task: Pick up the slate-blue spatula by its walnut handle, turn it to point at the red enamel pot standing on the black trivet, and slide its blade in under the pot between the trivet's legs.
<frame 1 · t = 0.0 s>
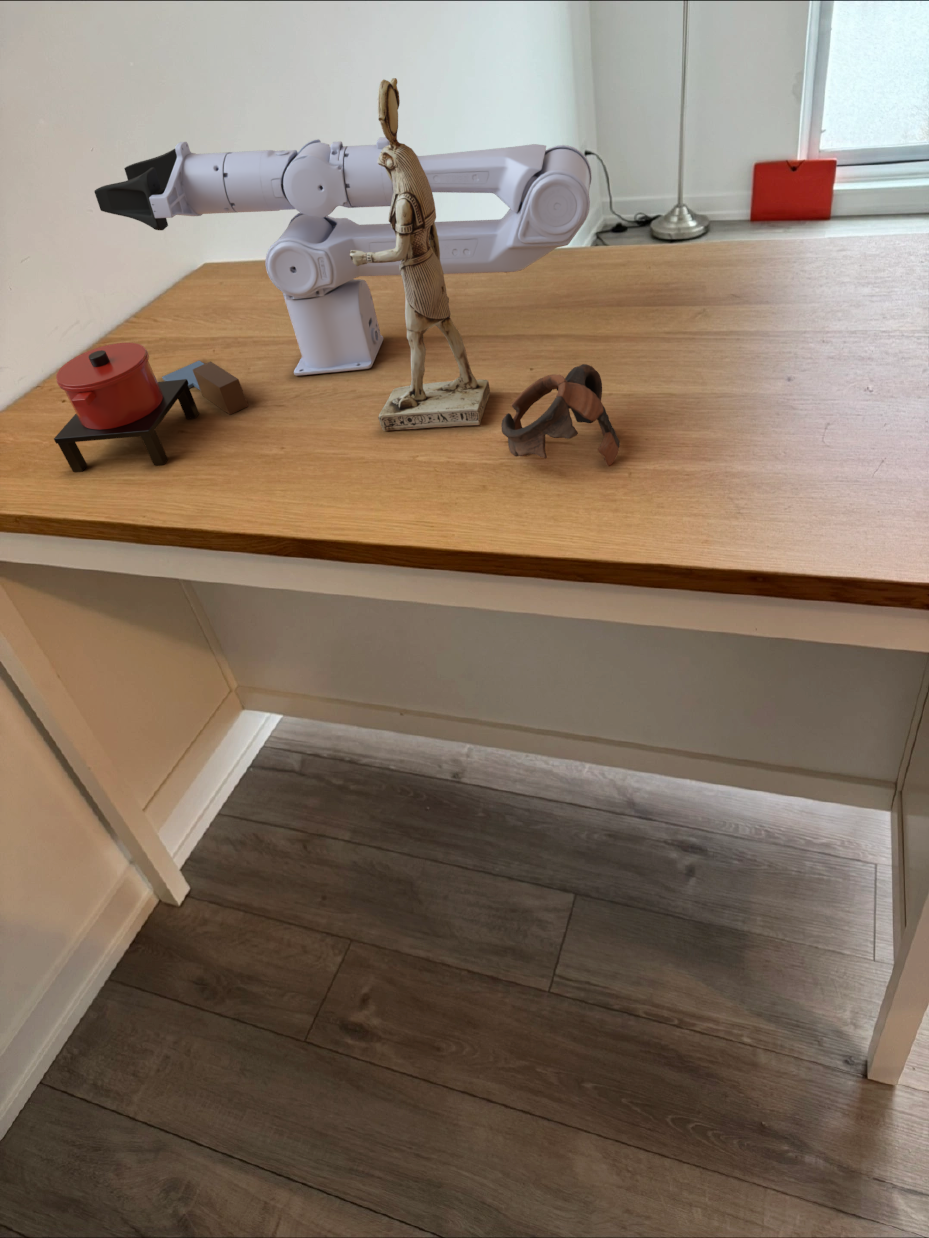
hand: (114, 188, 94), 22 cm above the table, tool horizontal, fingers open, 7 cm apart
statue: (438, 413, 91), on the table
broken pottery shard: (569, 449, 82), on the table
pot: (138, 441, 97), on the table
spatula: (190, 377, 107), on the table
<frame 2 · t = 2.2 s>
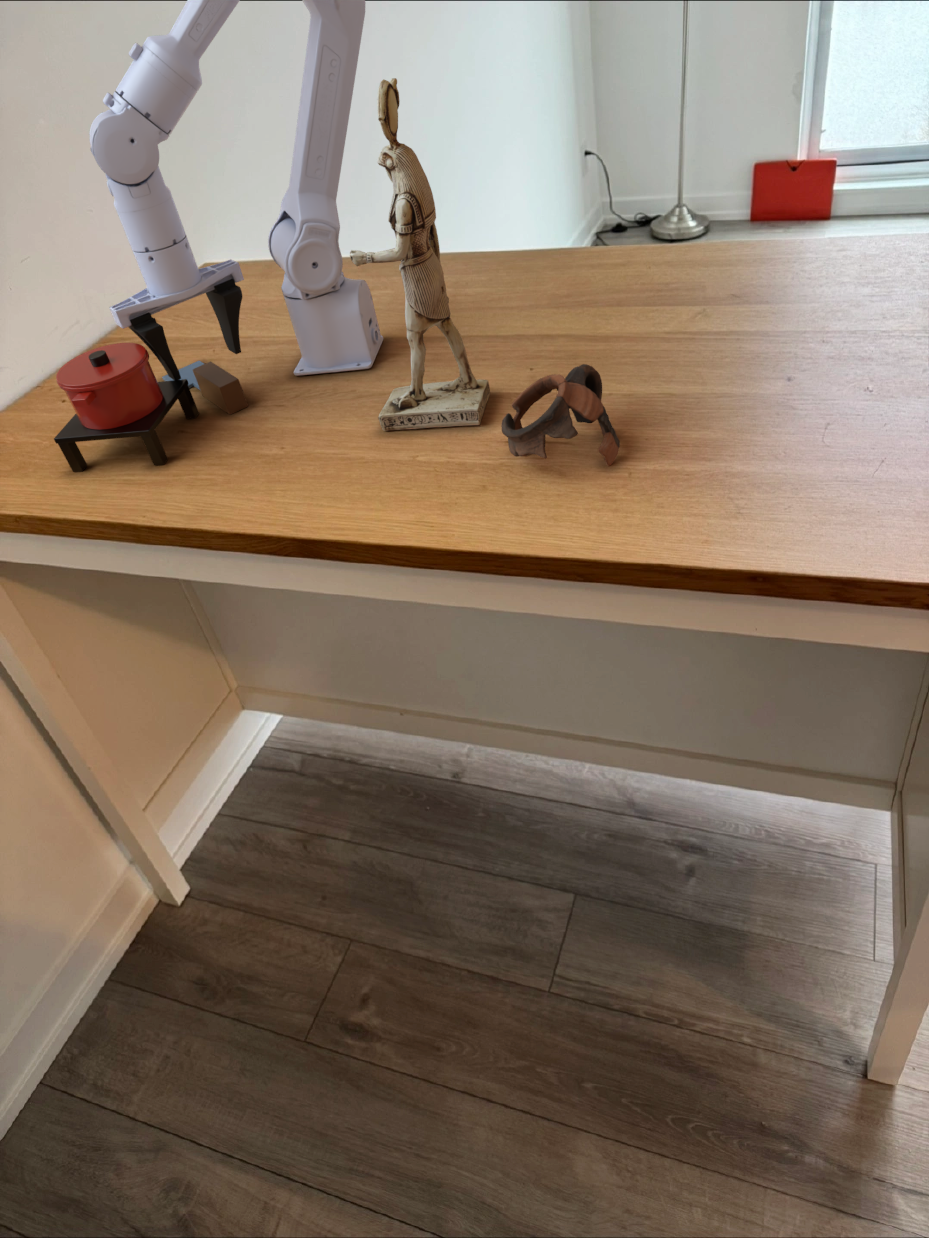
hand: (205, 364, 99), 4 cm above the table, tool pointing down, fingers open, 7 cm apart
nothing on the table moved.
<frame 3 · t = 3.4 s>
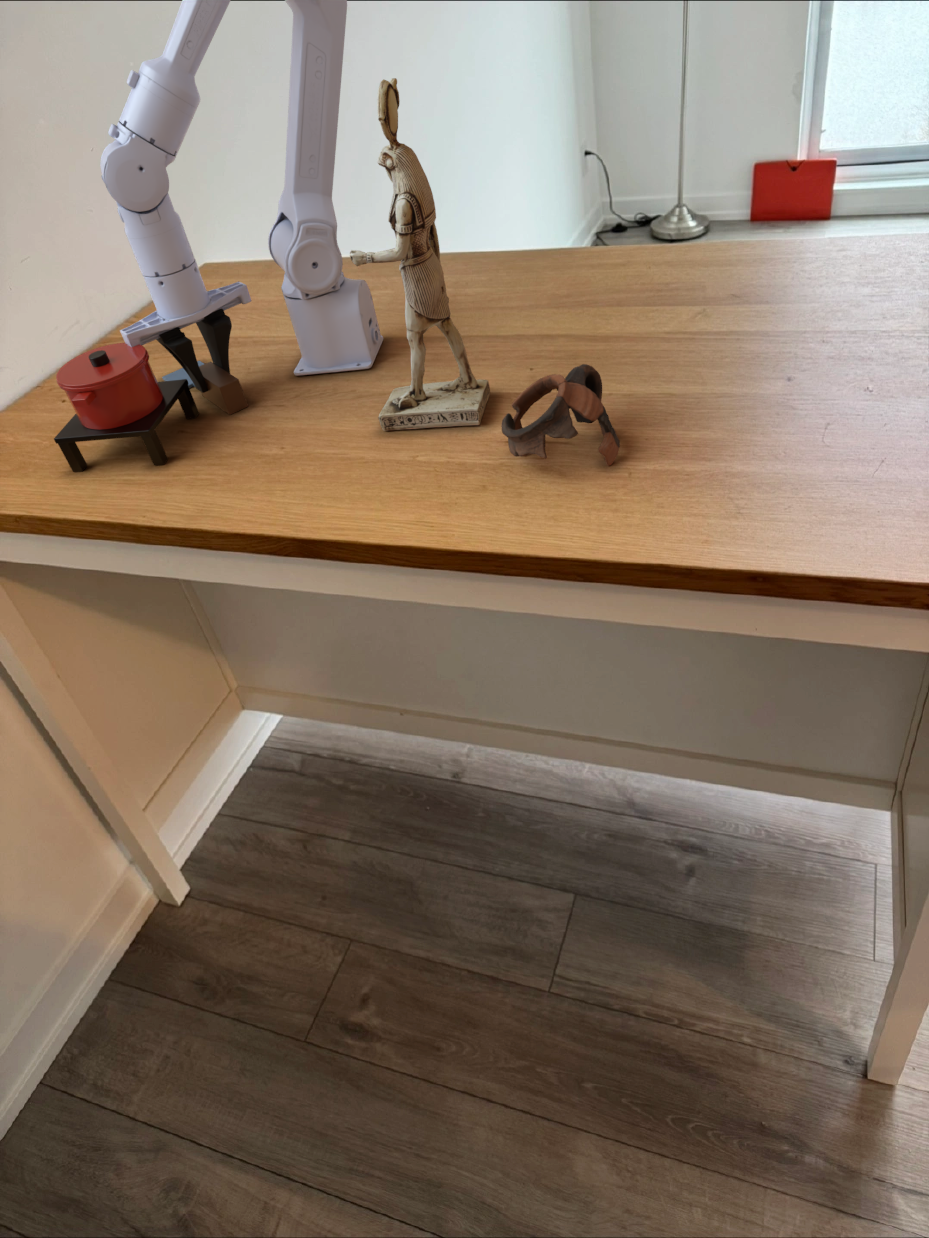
hand: (214, 384, 101), 2 cm above the table, tool pointing down, fingers closed on spatula, 2 cm apart
spatula: (190, 377, 107), on the table, touching gripper
everything else where it was.
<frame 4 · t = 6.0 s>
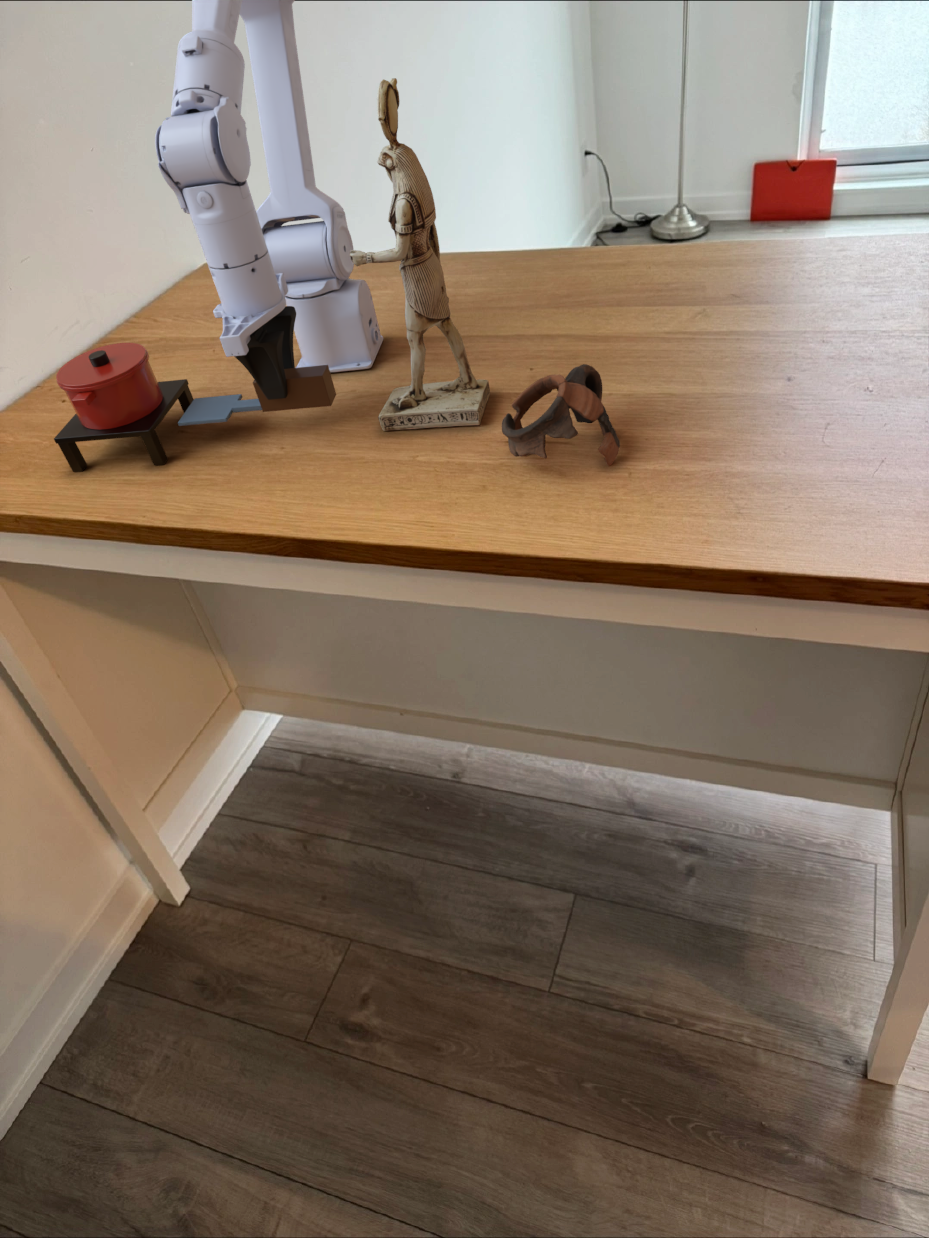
hand: (281, 390, 90), 5 cm above the table, tool pointing down, fingers closed on spatula, 2 cm apart
spatula: (211, 411, 93), point 3 cm above the table, touching gripper
everything else where it was.
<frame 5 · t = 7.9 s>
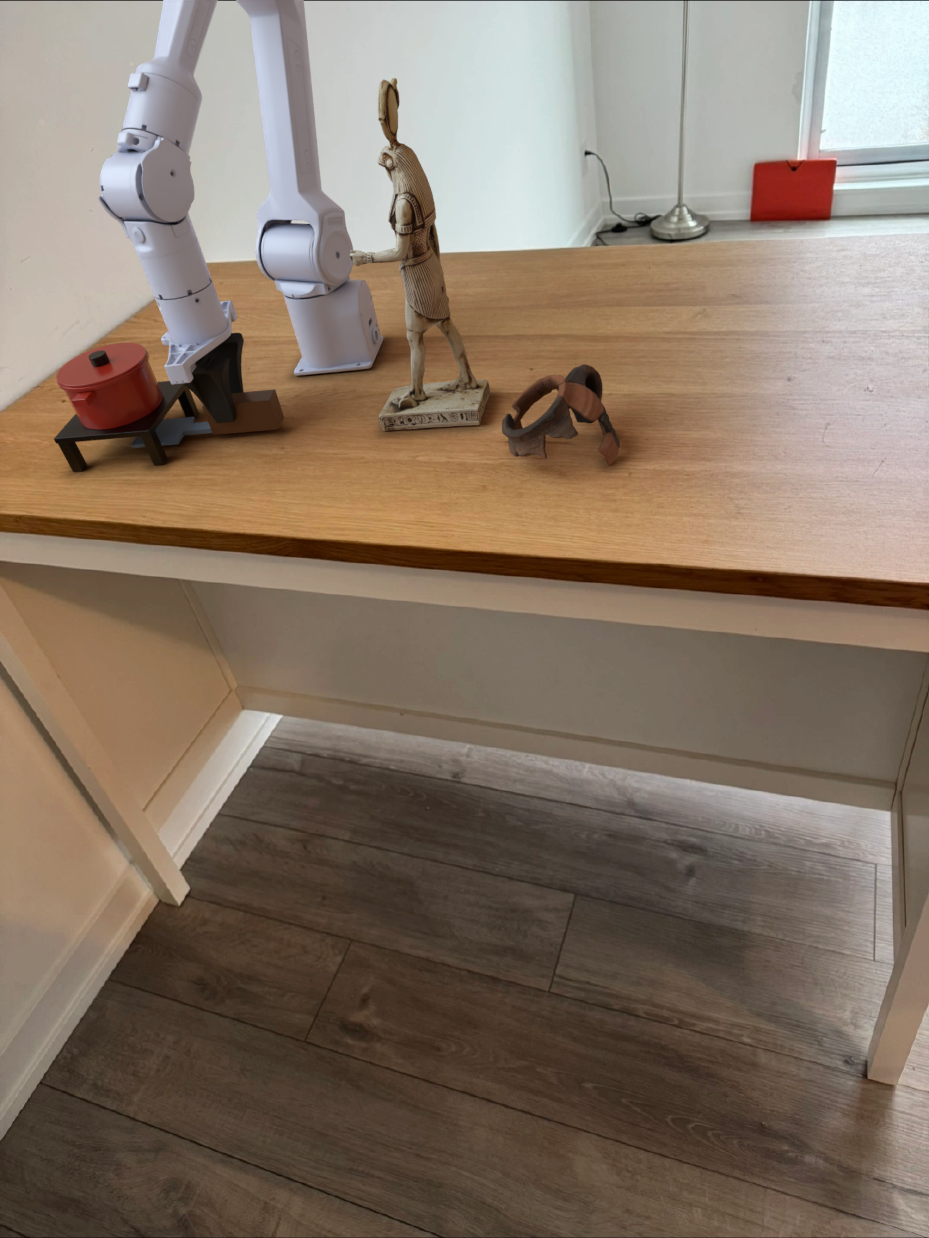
hand: (231, 413, 93), 2 cm above the table, tool pointing down, fingers closed on spatula, 2 cm apart
spatula: (163, 433, 96), point 1 cm above the table, touching gripper
everything else where it was.
when the fingers open (2 cm above the table, at t = 8.8 s): spatula stays where it is, on the table.
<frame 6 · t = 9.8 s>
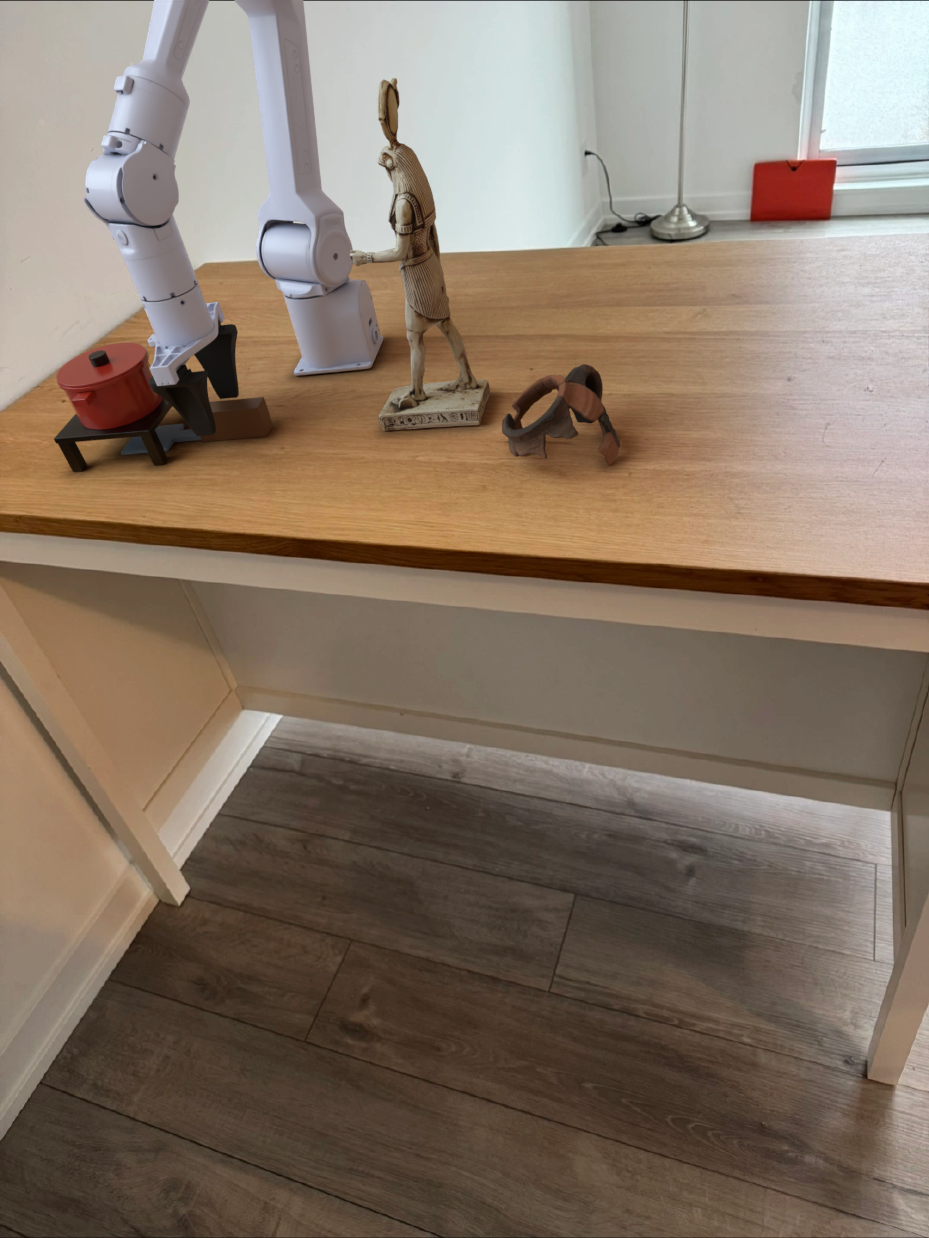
hand: (218, 414, 93), 2 cm above the table, tool pointing down, fingers open, 7 cm apart
spatula: (154, 440, 96), on the table
everything else where it was.
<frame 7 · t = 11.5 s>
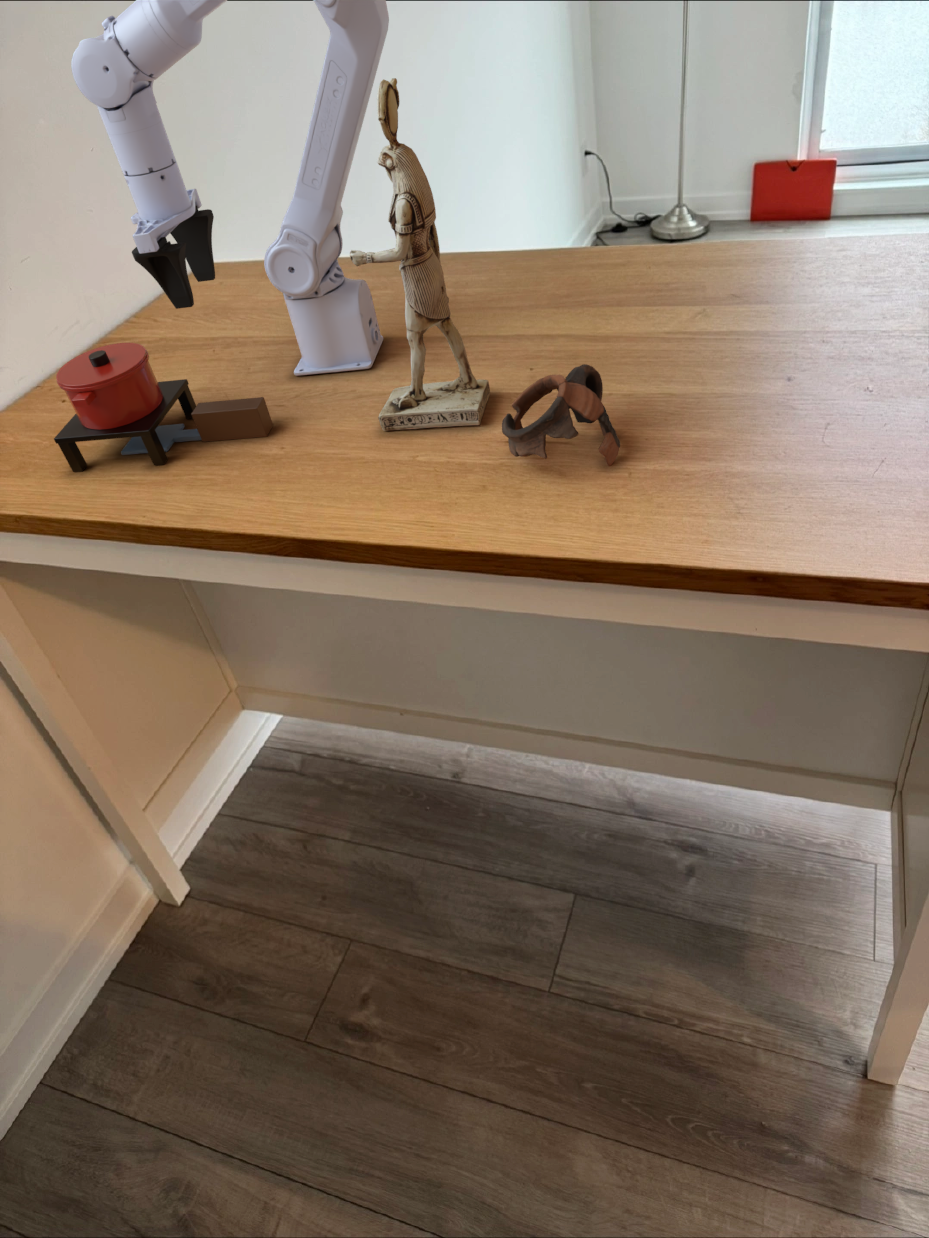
hand: (196, 293, 102), 9 cm above the table, tool pointing down, fingers open, 7 cm apart
nothing on the table moved.
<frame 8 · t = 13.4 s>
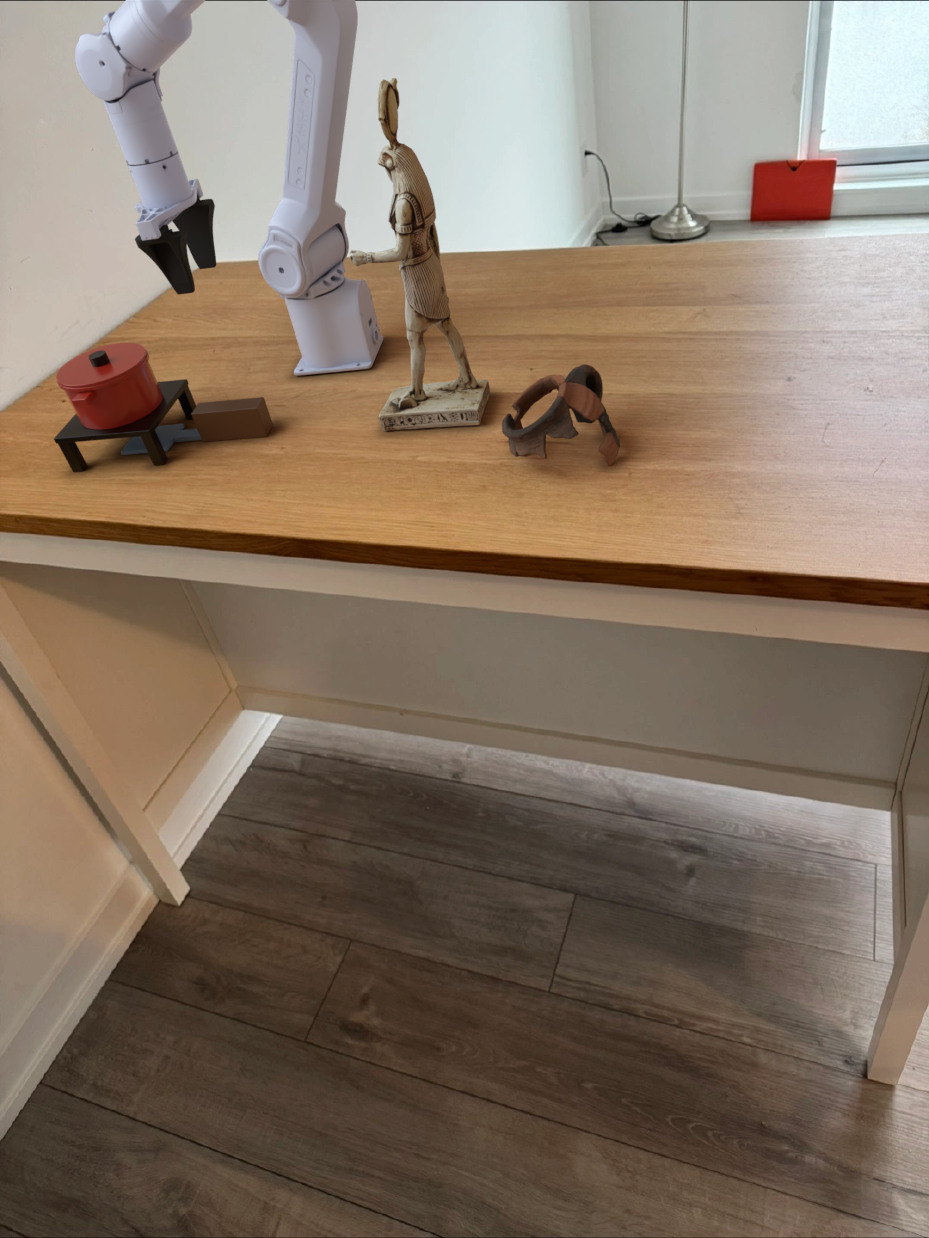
hand: (197, 279, 105), 9 cm above the table, tool pointing down, fingers open, 7 cm apart
nothing on the table moved.
at the end: spatula 0.3 cm from the target spot on the pot, point 0.0 cm above the pot's base; the gripper is holding nothing; spatula tilted 0° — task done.
